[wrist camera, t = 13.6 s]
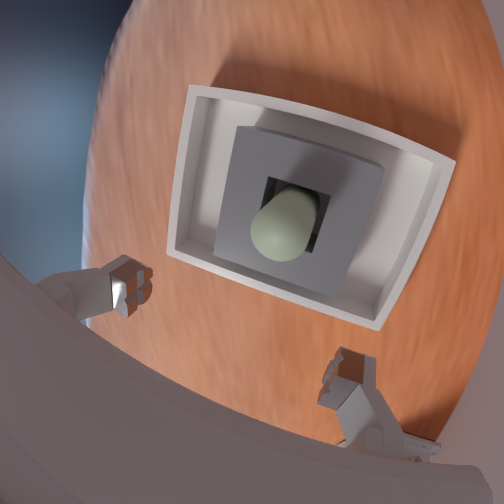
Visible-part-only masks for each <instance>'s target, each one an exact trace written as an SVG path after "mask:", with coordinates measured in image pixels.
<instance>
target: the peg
mask: <svg viewBox="0 0 504 504" xmlns="http://www.w3.org/2000/svg"><path fill="white" fill-rule="evenodd" d="M319 208H320V198H319V195H318V193H317V191H315V190H312V189H309V188H306V187H303V186H299V185H296V184H293V183H290V184H288V185H287V186H285V187H284V188H283V189H282V190H281V191H280V192H279V193H278V194H277V195H276V196H275V197H274V198H273V199H272V200H271V201H270V202H269V203H268V204H267V205H265V206H264V207H263V208H262V209H261V210H260V211H259V212H258V213H257V214H256V216H255V217H254V219H253V221H252V224H251V231H250V232H251V238H252V241H253V244H254V246H255V247H256V249H257V250H258V251H259V252H260V253H261V254H262V255H264V256H265V257H267V258H269V259H271V260H274V261H282V262H283V261H290V260H293V259H295V258H297V257H298V256H300V255H301V254H302V253H303V251H304V250H305V249H306V247H307V244H308V241H309V238H310V235H311V232H312V229H313V226H314V223H315V220H316V217H317V214H318V211H319Z"/></svg>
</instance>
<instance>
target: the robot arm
mask: <svg viewBox="0 0 504 504" xmlns="http://www.w3.org/2000/svg"><path fill="white" fill-rule="evenodd" d="M152 277H153V270H152V269H151V267H149V266H147V265H145V264H143V263H141V262H139V261H137V260H135V259H133V258H131V257H129V256H127V255H121V256H120V257H118V258H116V259H115V260H113V261H112V262H110V263H108V264H107V265H105V266H104V267H102V268H100V269H98V268H92V269H84V270H77V271H69V272H61V273H54V274H51V275H50V276H48V277H46V278H45V279H43V280H41V281H40V282H38V283H37V284H35V285H34V284H33V283H32V282H31V281H30V280H28V279H27V278H26V277H25V276H24V275H23V274H22V273H21V272H20V271H19V270H17V268H16V267H14V266H13V265H12V264H11V263H10V262H9V261H8V260H7V259H6V258H5V256H4V255H3V254H2V253H0V504H493V494H492V490H491V488H490V486H489V484H488V482H487V481H486V479H485V477H484V476H483V474H482V472H481V471H480V470H479V469H478V468H477V467H476V466H471V465H451V464H437V463H430V460H431V459H432V458H434V457H435V456H436V455H437V454H438V452H439V451H440V449H441V444H440V443H436V442H433V441H430V440H426V439H423V438H419V437H416V436H413V435H410V434H407V433H404V432H403V430H402V429H401V427H400V425H399V423H398V422H397V420H396V418H395V416H394V415H393V413H392V411H391V410H390V408H389V406H388V404H387V403H386V401H385V399H384V398H383V396H382V394H381V393H380V391H379V390H378V389H375V388H376V358H375V357H372V356H369V355H366V354H362V353H359V352H356V351H353V350H350V349H347V348H344V347H341V346H340V347H339V348H338V350H337V351H336V353H335V358H334V359H333V360H331V361H330V363H329V365H328V366H327V368H326V371H325V373H324V376H323V380H322V383H323V387H322V388H321V390H320V392H319V397H318V401H317V404H319V405H322V406H325V407H328V408H331V409H334V410H337V411H336V413H337V416H338V419H339V421H340V424H341V427H342V430H343V433H344V436H345V439H346V441H343V442H341V443H340V444H338V445H337V446H335V445H332V444H328V443H324V442H321V441H317V440H314V439H311V438H308V437H304V436H301V435H298V434H295V433H292V432H289V431H286V430H283V429H280V428H278V427H275V426H272V425H269V424H267V423H264V422H261V421H259V420H256V419H254V418H251V417H249V416H246V415H244V414H241V413H239V412H237V411H234V410H232V409H230V408H227V407H225V406H223V405H221V404H219V403H216V402H214V401H212V400H210V399H208V398H206V397H204V396H202V395H199V394H197V393H195V392H193V391H191V390H189V389H188V388H186V387H184V386H182V385H180V384H178V383H176V382H174V381H172V380H170V379H169V378H167V377H165V376H163V375H161V374H160V373H158V372H156V371H154V370H153V369H151V368H149V367H147V366H146V365H144V364H142V363H141V362H139V361H137V360H136V359H134V358H133V357H131V356H129V355H128V354H126V353H125V352H123V351H121V350H120V349H118V348H117V347H115V346H114V345H112V344H111V343H109V342H108V341H106V340H105V339H103V338H102V337H100V336H99V335H98V334H96V333H95V332H93V331H92V330H91V329H89V328H88V327H86V326H85V325H83V324H82V323H81V322H80V321H79V320H83V319H86V318H89V317H93V316H96V315H99V314H102V313H106V312H109V311H112V310H113V309H114V310H115V311H117V312H119V313H121V314H122V315H124V316H126V317H129V316H130V315H131V314H133V313H134V312H135V311H136V310H137V307H138V305H141V304H144V303H145V302H146V301H147V300H148V299H149V297H150V295H151V292H152V283H151V281H150V279H151V278H152Z"/></svg>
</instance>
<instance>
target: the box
mask: <svg viewBox="0 0 504 504" xmlns="http://www.w3.org/2000/svg"><path fill="white" fill-rule="evenodd" d="M455 164H456V161H454V160H452V159H450V158H448V157H446V156H444V155H442V154H440V153H438V152H436V151H434V150H432V149H430V148H427V147H425V146H423V145H421V144H419V143H416V142H414V141H412V140H409V139H407V138H404V137H402V136H400V135H397V134H395V133H392V132H389V131H387V130H384V129H382V128H379V127H376V126H373V125H371V124H368V123H365V122H362V121H359V120H356V119H353V118H350V117H347V116H344V115H341V114H337V113H334V112H331V111H327V110H324V109H320V108H316V107H313V106H309V105H305V104H301V103H297V102H293V101H288V100H284V99H280V98H275V97H270V96H265V95H260V94H255V93H249V92H243V91H237V90H231V89H224V88H216V87H208V86H199V85H189V89H188V94H187V99H186V105H185V110H184V115H183V121H182V127H181V133H180V139H179V145H178V152H177V159H176V166H175V173H174V181H173V189H172V198H171V207H170V217H169V228H168V240H167V253H166V255H169V256H171V257H174V258H176V259H179V260H181V261H184V262H186V263H189V264H192V265H194V266H197V267H199V268H202V269H204V270H207V271H210V272H212V273H215V274H217V275H220V276H223V277H225V278H228V279H230V280H233V281H236V282H238V283H241V284H244V285H246V286H249V287H252V288H255V289H257V290H260V291H263V292H265V293H268V294H271V295H274V296H277V297H279V298H282V299H285V300H288V301H290V302H293V303H296V304H299V305H302V306H305V307H307V308H310V309H313V310H316V311H319V312H322V313H325V314H328V315H331V316H334V317H336V318H339V319H342V320H345V321H348V322H351V323H354V324H357V325H360V326H363V327H366V328H369V329H373V330H376V331H379V330H380V328H381V327H382V325H383V323H384V322H385V320H386V318H387V317H388V315H389V313H390V311H391V310H392V308H393V306H394V304H395V303H396V301H397V299H398V297H399V295H400V294H401V292H402V290H403V288H404V286H405V284H406V282H407V280H408V278H409V276H410V274H411V272H412V270H413V268H414V266H415V264H416V262H417V260H418V258H419V256H420V254H421V252H422V250H423V247H424V245H425V243H426V241H427V238H428V236H429V234H430V231H431V229H432V227H433V224H434V222H435V220H436V217H437V215H438V212H439V209H440V207H441V204H442V202H443V199H444V196H445V193H446V191H447V188H448V185H449V182H450V179H451V176H452V173H453V170H454V167H455ZM290 183H293V184H296V185H299V186H303V187H306V188H309V189H312V190H315V191H317V193H318V195H319V198H320V208H319V211H318V214H317V217H316V220H315V223H314V226H313V229H312V232H311V235H310V238H309V241H308V244H307V247H306V249H305V250H304V251H303V253H302V254H301V255H300V256H298V257H297V258H295V259H293V260H290V261H283V262H282V261H274V260H271V259H269V258H267V257H265V256H264V255H262V254H261V253H260V252H259V251H258V250H257V249H256V247H255V246H254V244H253V241H252V238H251V232H250V231H251V224H252V221H253V219H254V217H255V216H256V214H257V213H258V212H259V211H260V210H261V209H262V208H263V207H264V206H265V205H267V204H268V203H269V202H270V201H271V200H272V199H273V198H274V197H275V196H276V195H277V194H278V193H279V192H280V191H281V190H282V189H283V188H284V187H285V186H287V185H288V184H290Z"/></svg>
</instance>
